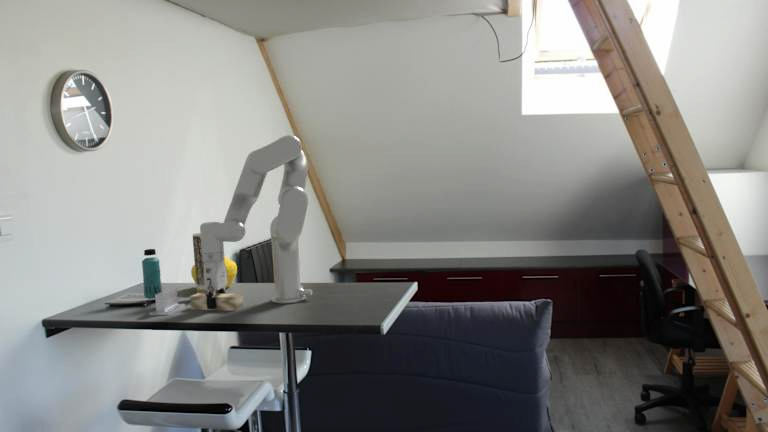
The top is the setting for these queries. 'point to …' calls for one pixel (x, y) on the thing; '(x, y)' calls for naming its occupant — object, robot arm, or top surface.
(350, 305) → the top surface
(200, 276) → the brown bark cylinder
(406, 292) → the top surface
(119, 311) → the top surface
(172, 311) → the fulcrum
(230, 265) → the vase
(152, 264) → the beverage bottle
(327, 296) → the top surface
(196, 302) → the beam
